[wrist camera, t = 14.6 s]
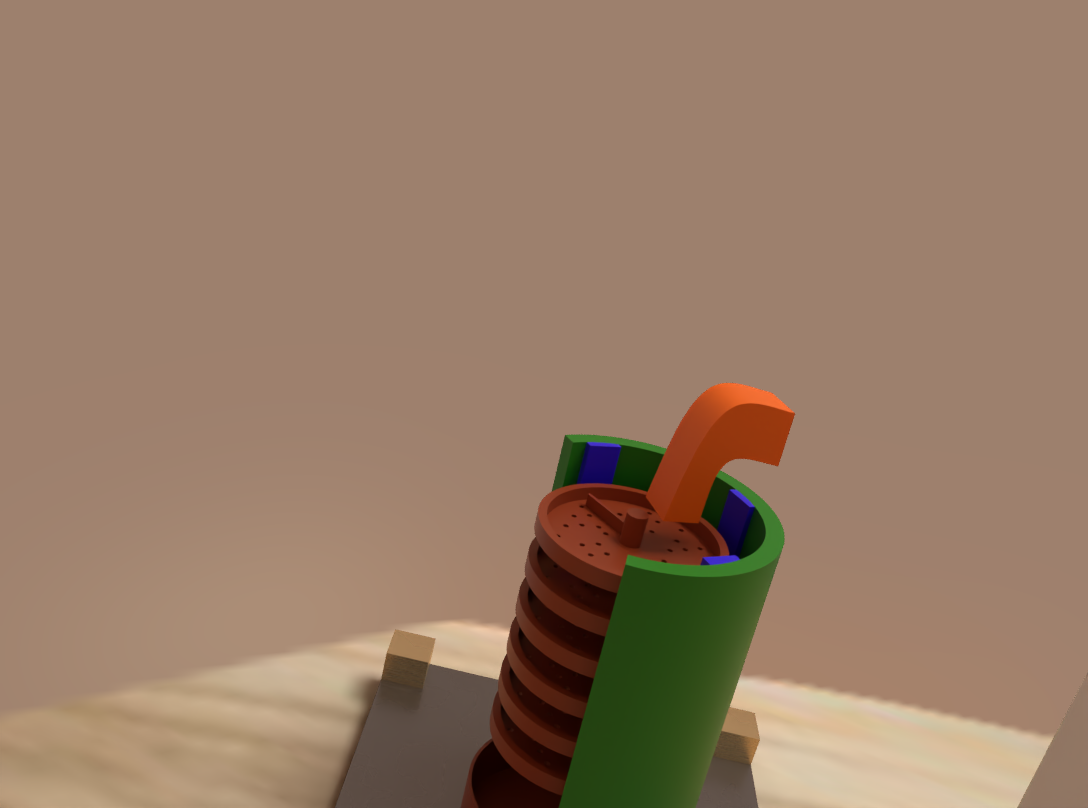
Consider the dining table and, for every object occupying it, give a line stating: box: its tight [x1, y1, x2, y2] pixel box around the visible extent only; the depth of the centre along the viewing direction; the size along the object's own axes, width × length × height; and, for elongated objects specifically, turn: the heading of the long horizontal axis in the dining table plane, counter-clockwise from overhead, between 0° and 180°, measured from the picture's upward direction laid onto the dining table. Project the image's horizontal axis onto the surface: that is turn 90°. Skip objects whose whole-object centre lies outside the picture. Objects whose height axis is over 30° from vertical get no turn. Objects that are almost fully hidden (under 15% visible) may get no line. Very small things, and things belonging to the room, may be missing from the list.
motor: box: [461, 383, 795, 808], centre depth 39 cm, size 10×9×20 cm
